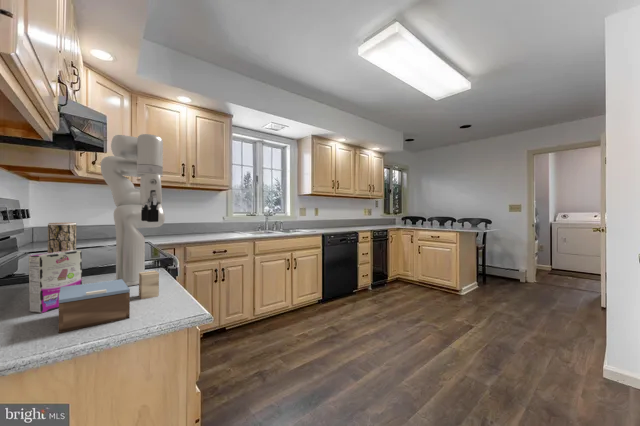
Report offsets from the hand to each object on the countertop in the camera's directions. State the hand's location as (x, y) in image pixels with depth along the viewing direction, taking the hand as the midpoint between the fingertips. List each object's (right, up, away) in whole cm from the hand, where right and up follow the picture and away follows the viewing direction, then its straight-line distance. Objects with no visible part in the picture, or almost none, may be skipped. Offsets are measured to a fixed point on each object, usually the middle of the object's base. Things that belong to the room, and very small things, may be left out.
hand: (149, 221), depth 93 cm
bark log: (-26, -26, -4) cm, 37 cm away
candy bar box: (-21, -26, -11) cm, 35 cm away
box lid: (-4, -19, -18) cm, 27 cm away
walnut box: (-4, -26, -18) cm, 32 cm away
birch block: (0, -26, 0) cm, 26 cm away
